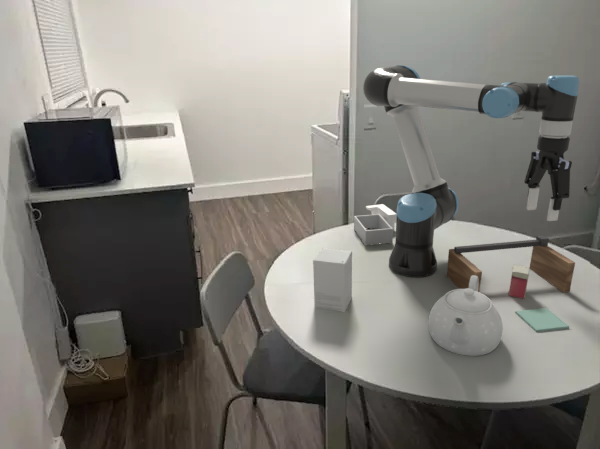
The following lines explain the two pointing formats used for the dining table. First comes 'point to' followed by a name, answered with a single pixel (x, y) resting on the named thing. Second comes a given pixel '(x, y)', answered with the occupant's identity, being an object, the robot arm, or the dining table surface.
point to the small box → (519, 281)
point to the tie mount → (542, 263)
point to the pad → (542, 319)
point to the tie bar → (503, 245)
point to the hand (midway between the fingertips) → (541, 214)
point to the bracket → (384, 213)
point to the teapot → (466, 321)
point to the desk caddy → (373, 236)
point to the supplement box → (333, 279)
